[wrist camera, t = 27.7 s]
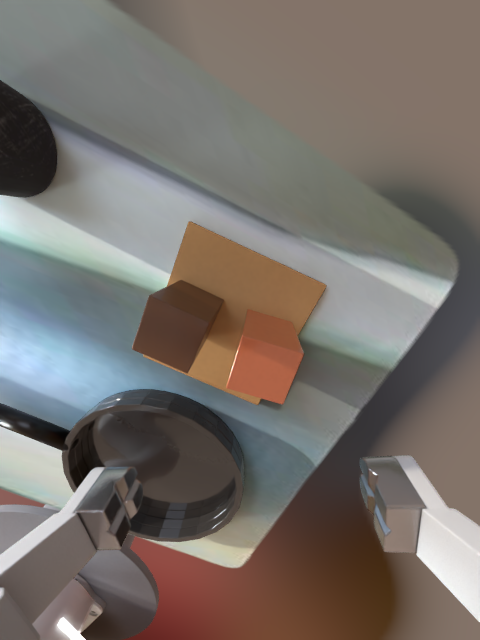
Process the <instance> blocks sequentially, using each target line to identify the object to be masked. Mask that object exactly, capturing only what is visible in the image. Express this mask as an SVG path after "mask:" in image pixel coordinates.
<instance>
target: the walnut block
mask: <svg viewBox="0 0 480 640" xmlns="http://www.w3.org/2000/svg"><path fill="white" fill-rule="evenodd" d="M223 302H224V299H222V298H219V297H217V296H215V295H213V294H211V293H209V292H207V291H204V290H202V289H200V288H198V287H196V286H194V285H192V284H189V283H187V282H185V281H183V280H179V281H177V282H175V283H173V284H171V285H169V286H167V287H165V288H163V289H161V290H159V291H157V292H155V293H153V294H151V295H149V297H148V300H147V304H146V307H145V310H144V313H143V316H142V319H141V322H140V325H139V328H138V331H137V334H136V337H135V340H134V343H133V346H132V349H133V350H135V351H137V352H139V353H142V354H144V355H146V356H148V357H151V358H153V359H155V360H157V361H160V362H162V363H164V364H167V365H169V366H171V367H173V368H176V369H178V370H180V371H182V372H185V373H188V372H189V370H190V368H191V367H192V365H193V363H194V361H195V359H196V357H197V356H198V354H199V352H200V350H201V348H202V347H203V345H204V343H205V341H206V339H207V337H208V335H209V333H210V331H211V328H212V326H213V324H214V322H215V320H216V317H217V315H218V313H219V311H220V308H221V306H222V304H223Z"/></svg>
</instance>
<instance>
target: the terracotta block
mask: <svg viewBox="0 0 480 640" xmlns="http://www.w3.org/2000/svg"><path fill="white" fill-rule="evenodd" d="M303 356H304V352H303V349H302V347H301V344H300V341H299V339H298V336H297V333H296V331H295V328H294V325H293V323H292V322H291V321H287V320H284V319H280V318H277V317H273V316H270V315H267V314H263V313H260V312H256V311H253V310H250V309H247V312H246V315H245V318H244V322H243V325H242V328H241V332H240V335H239V338H238V342H237V345H236V348H235V352H234V356H233V361H232V365H231V369H230V373H229V377H228V382H227V386H226V388H227V389H231V390H234V391H237V392H241V393H244V394H248V395H251V396H255V397H258V398H262V399H265V400H269V401H272V402H275V403H279V404H284V401H285V399H286V397H287V394H288V392H289V389H290V387H291V384H292V382H293V380H294V377H295V375H296V372H297V370H298V368H299V365H300V363H301V360H302V358H303Z"/></svg>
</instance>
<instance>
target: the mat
mask: <svg viewBox="0 0 480 640" xmlns="http://www.w3.org/2000/svg"><path fill="white" fill-rule="evenodd" d="M179 280H183V281H185V282H187V283H189V284H192V285H194V286H196V287H198V288H200V289H202V290H204V291H207V292H209V293H211V294H213V295H215V296H217V297H219V298H222V299H224V302H223V304H222V306H221V308H220V311H219V313H218V315H217V317H216V320H215V322H214V324H213V326H212V328H211V331H210V333H209V335H208V337H207V339H206V341H205V343H204V345H203V347H202V348H201V350H200V352H199V354H198V356H197V357H196V359H195V361H194V363H193V365H192V367H191V368H190V370H189V372H188V373H185V372H182V371H180V370H178V369H176V368H173V367H171V366H169V365H167V364H164V363H162V362H160V361H157V360H155V359H153V358H151V357H148V356H146V355H144V357H146V358H148V359H151V360H153V361H155V362H158V363H160V364H162V365H165V366H167V367H169V368H172V369H174V370H176V371H179V372H181V373H183V374H186V375H188V376H190V377H193V378H195V379H197V380H200V381H202V382H204V383H207V384H209V385H211V386H214V387H216V388H218V389H221V390H223V391H225V392H228V393H230V394H232V395H235V396H237V397H239V398H242V399H244V400H246V401H249V402H251V403H253V404H256V405H258V404H259V402H260V400H261V399H262V398H258V397H255V396H251V395H248V394H244V393H241V392H237V391H234V390H231V389H227V388H226V386H227V382H228V377H229V373H230V369H231V365H232V361H233V356H234V352H235V348H236V345H237V342H238V338H239V335H240V332H241V328H242V325H243V322H244V318H245V315H246V312H247V309H250V310H253V311H256V312H260V313H263V314H267V315H270V316H273V317H277V318H280V319H284V320H287V321H291V322H292V323H293V325H294V328H295V331H296V333H297V336H298V335H299V333H300V331H301V330H302V328H303V326H304V324H305V323H306V321H307V319H308V317H309V316H310V314H311V312H312V310H313V309H314V307H315V305H316V304H317V302H318V300H319V298H320V297H321V295H322V293H323V291H324V290H325V288H326V285H325V284H323V283H321V282H319V281H317V280H315V279H312V278H310V277H308V276H306V275H304V274H302V273H300V272H297V271H295V270H293V269H291V268H289V267H287V266H285V265H282V264H280V263H278V262H276V261H274V260H272V259H270V258H267V257H265V256H263V255H261V254H259V253H257V252H255V251H252V250H250V249H248V248H246V247H244V246H242V245H240V244H237V243H235V242H233V241H231V240H229V239H227V238H225V237H222V236H220V235H218V234H216V233H214V232H212V231H210V230H207V229H205V228H203V227H201V226H199V225H197V224H195V223H192V222H190V221H189V222H188V225H187V228H186V231H185V234H184V237H183V240H182V243H181V246H180V249H179V252H178V255H177V258H176V261H175V264H174V267H173V270H172V273H171V276H170V279H169V282H168V285H167V286H169V285H171V284H173V283H175V282H177V281H179Z"/></svg>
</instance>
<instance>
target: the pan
mask: <svg viewBox="0 0 480 640" xmlns="http://www.w3.org/2000/svg"><path fill="white" fill-rule="evenodd" d="M77 438H79V441H78V444H77V445H76V447H75V448H73V449H72V450H71V447H72V445H73V443H74V442H75V441H76V440H77ZM65 444H66V445H67V446H68V448H69V449H68V450H67V451H63V452H62V461H63V469H64V474H65V476H66V478H67V480H68V482H69V485H70V487H71V489H72V491H73V492H74V493H75V491H76V490H77V489H78V487H79V486H80V485H81V483H82V482H83V481H84V479H85V478H86V477H87V475H88V474H89V473H90V471H91V470H93V469H94V468H96V467H135V469H136V471H137V473H138V474H137V476H136V479H137V480H139V481H140V482H141V484H142V487H143V497H142V502H141V505H140V507H139V510H138V512H137V513H136V514H135V515H134V516H133V517H132V518H131V519H130V523H131V527H130V530H129V532H128V533H129V534H132V535H135V536H137V537H141V538H146V539H151V540H155V541H168V542H182V541H189V540H195V539H200V538H202V537H205V536H207V535H210V534H212V533H215V532H217V531H218V530H220V529H221V528H222V527H224V526H225V525H226V524H228V523H229V522H230V521H231V519H232V518H233V516H234V515H235V513H236V512H237V511H238V509H239V507H240V503H241V499H242V495H243V489H244V475H245V472H244V459H243V455H242V451H241V448H240V446H239V443H238V441H237V440H236V438H235V436H234V434H233V433H232V432H231V430H230V429H229V428H228V426H227V425H226V424H225V423H224V422H223V421H222V420H221V419H220V418H219V417H218V416H216V415H215V414H214V413H213V412H211V411H210V410H209V409H207V408H206V407H204V406H202V405H201V404H199V403H197V402H195V401H193V400H191V399H189V398H186V397H184V396H181V395H178V394H175V393H170V392H166V391H160V390H153V389H139V390H129V391H125V392H121V393H117V394H115V395H112V396H110V397H108V398H106V399H104V400H102V401H101V402H99V403H98V404H97V405H96V406H94V407H93V408H92V409H90V410H89V411H88V412H87V413H86V414H85V415H84V416H83V417H82V418H81V419H80V420H79V421H78V422H77V423H76V424H75V426H74V427H73V428H72V430H71V431H70V433H69V434H68V436H67V437H66V440H65Z"/></svg>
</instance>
